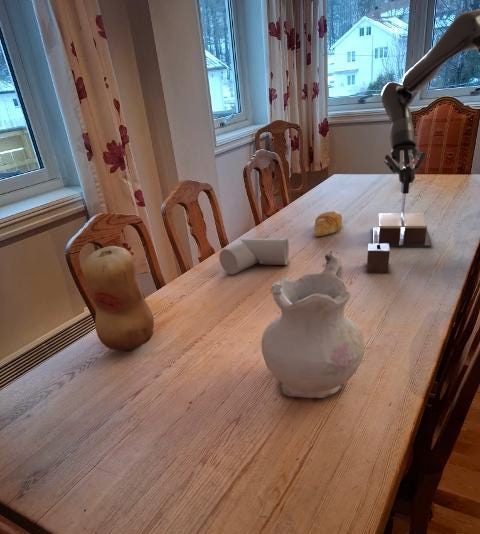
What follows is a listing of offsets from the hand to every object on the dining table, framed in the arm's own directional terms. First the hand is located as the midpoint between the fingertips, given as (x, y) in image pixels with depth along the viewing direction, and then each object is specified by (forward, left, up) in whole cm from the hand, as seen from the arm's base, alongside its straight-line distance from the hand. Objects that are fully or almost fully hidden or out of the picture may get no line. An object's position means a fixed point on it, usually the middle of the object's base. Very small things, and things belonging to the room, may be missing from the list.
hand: (407, 181), depth 139 cm
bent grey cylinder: (+45, +25, -20) cm, 56 cm away
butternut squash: (+66, +75, -20) cm, 102 cm away
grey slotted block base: (0, -2, -20) cm, 20 cm away
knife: (0, -2, -13) cm, 13 cm away
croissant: (+26, -11, -20) cm, 35 cm away
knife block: (+8, +25, -20) cm, 33 cm away
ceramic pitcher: (+21, +81, -20) cm, 86 cm away
